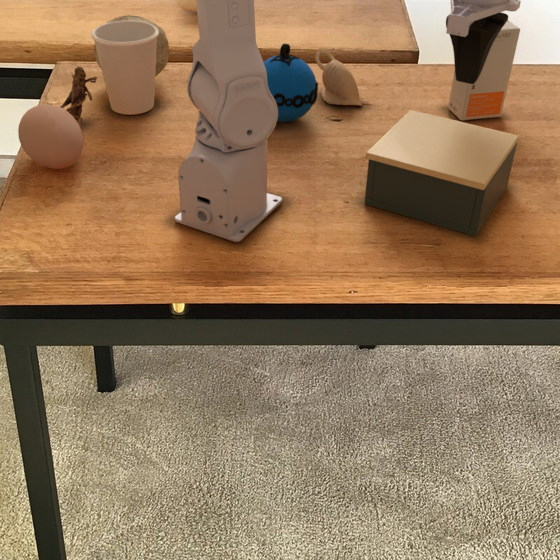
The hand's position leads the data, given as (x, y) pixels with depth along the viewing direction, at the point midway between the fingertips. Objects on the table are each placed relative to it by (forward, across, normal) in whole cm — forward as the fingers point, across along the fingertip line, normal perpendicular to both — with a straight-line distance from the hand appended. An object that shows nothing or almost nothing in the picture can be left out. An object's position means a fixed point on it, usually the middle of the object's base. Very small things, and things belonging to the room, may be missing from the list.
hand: (466, 80), depth 86 cm
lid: (+4, -8, -1) cm, 10 cm away
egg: (+7, -22, +44) cm, 50 cm away
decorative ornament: (+11, +10, +20) cm, 25 cm away
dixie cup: (+10, -7, +42) cm, 44 cm away
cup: (+8, +32, +53) cm, 62 cm away
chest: (+10, -8, -1) cm, 13 cm away
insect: (+9, -12, +45) cm, 48 cm away
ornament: (+11, 0, +23) cm, 25 cm away
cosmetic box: (+11, +15, +2) cm, 18 cm away
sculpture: (+10, +1, +46) cm, 47 cm away
